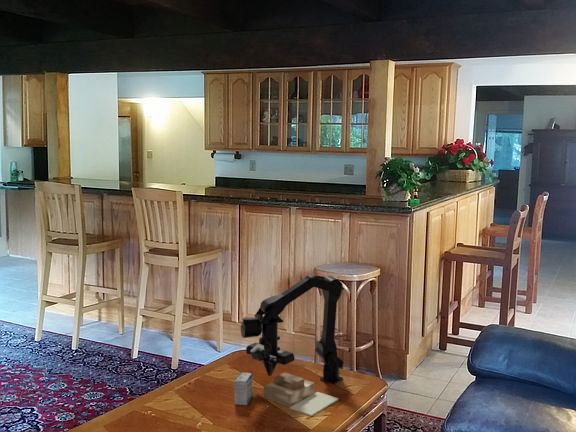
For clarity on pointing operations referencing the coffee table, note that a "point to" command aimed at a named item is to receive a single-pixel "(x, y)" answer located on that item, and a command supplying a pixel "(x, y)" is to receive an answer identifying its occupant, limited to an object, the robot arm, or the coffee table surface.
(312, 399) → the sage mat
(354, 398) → the coffee table surface
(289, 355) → the robot arm
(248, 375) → the medicine box
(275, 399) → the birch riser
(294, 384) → the walnut tile
